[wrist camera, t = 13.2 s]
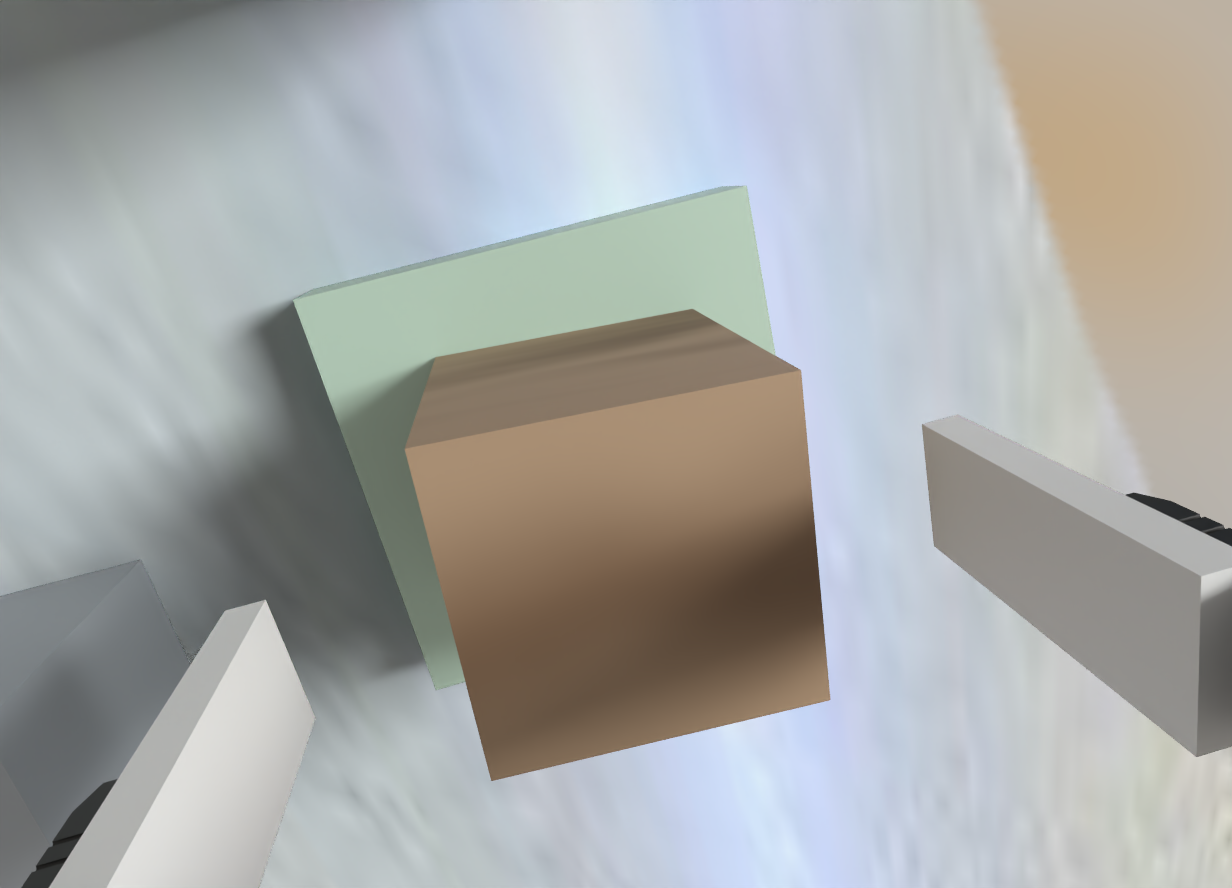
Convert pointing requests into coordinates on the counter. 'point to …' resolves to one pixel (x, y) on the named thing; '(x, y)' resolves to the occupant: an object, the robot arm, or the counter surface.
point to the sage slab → (510, 341)
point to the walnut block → (621, 536)
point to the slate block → (75, 698)
